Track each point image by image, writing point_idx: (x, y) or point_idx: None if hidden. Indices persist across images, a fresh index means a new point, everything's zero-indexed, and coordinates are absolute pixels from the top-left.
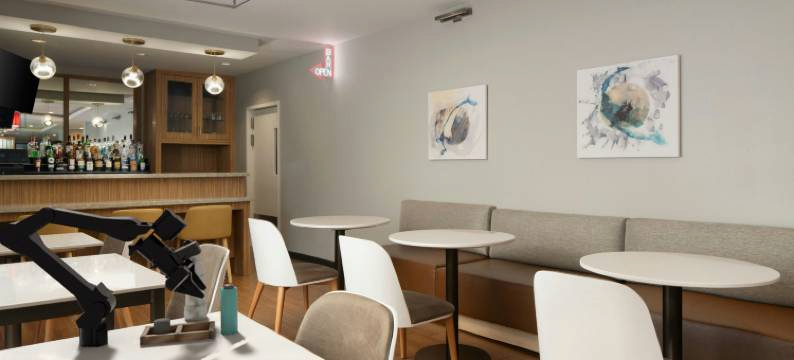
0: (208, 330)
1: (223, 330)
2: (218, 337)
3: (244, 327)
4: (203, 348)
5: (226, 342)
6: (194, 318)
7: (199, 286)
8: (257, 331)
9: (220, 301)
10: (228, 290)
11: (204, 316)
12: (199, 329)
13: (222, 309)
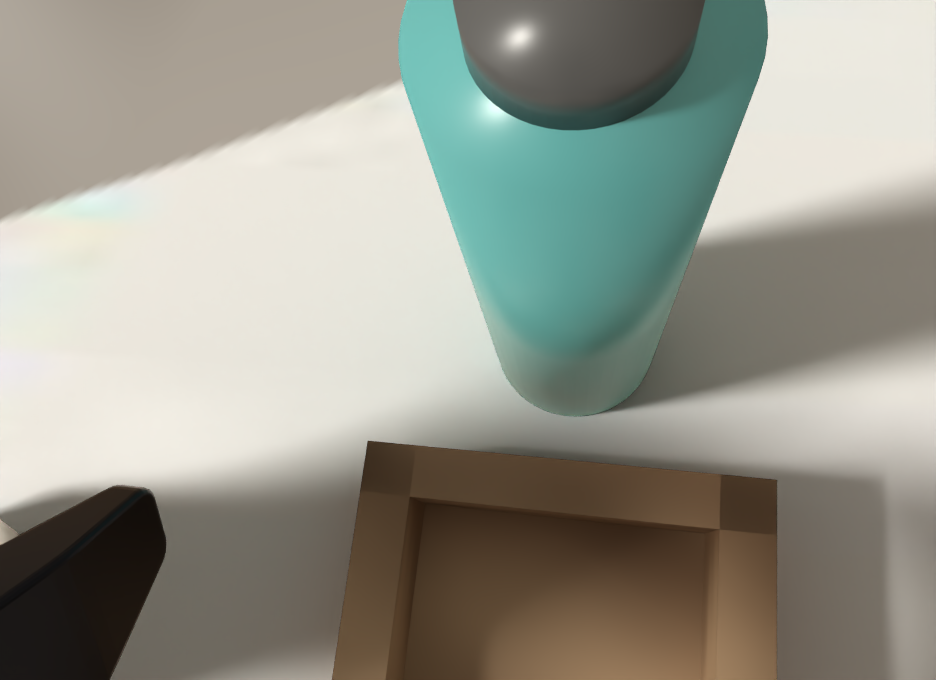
0: (727, 535)
1: (638, 375)
2: (588, 438)
3: (373, 200)
4: (906, 606)
5: (771, 377)
6: None
7: (84, 658)
8: None
9: (598, 293)
10: (765, 39)
11: (10, 535)
12: (409, 617)
13: (651, 308)
